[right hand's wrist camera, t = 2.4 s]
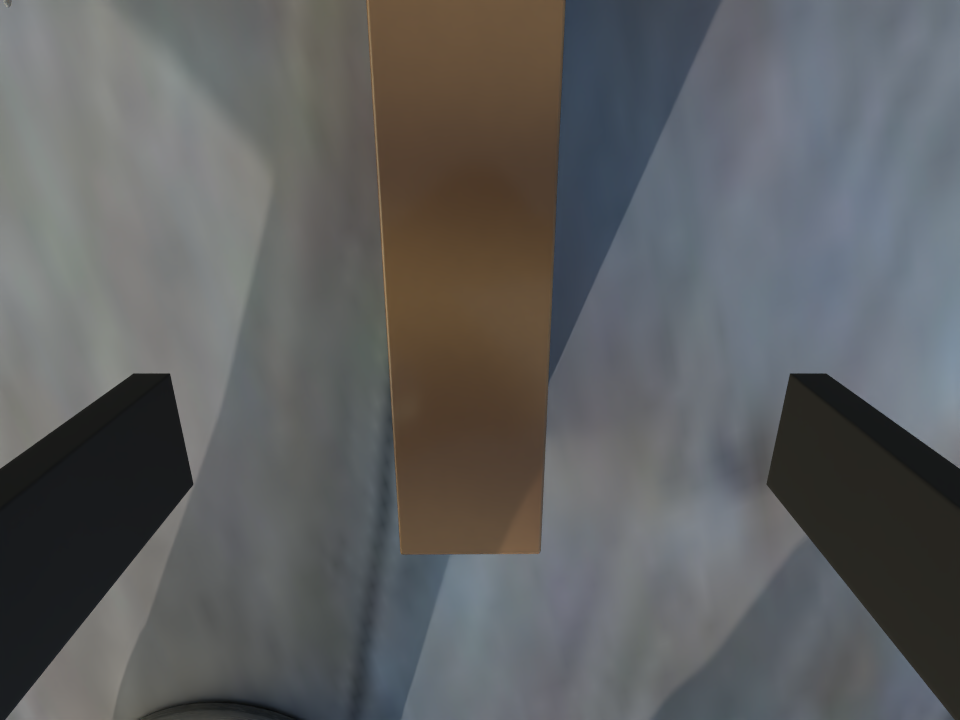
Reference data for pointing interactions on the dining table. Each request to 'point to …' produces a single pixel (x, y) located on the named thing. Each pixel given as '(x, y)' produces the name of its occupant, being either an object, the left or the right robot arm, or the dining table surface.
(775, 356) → the dining table surface
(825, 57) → the dining table surface
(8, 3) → the fork
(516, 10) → the bar
